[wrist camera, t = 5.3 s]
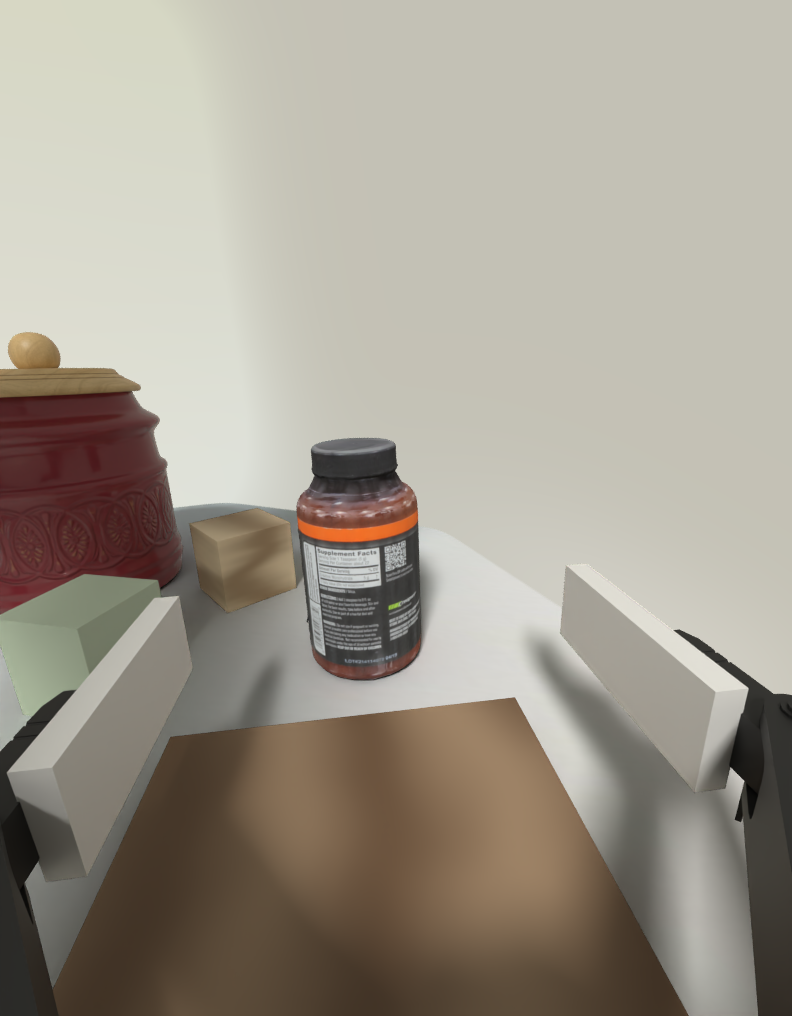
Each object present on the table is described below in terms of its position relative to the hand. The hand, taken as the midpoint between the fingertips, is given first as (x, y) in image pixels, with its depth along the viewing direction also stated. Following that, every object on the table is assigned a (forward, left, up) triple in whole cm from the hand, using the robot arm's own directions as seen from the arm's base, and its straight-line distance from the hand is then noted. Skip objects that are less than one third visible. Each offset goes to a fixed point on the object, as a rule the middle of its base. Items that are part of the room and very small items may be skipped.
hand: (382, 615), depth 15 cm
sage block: (-13, +7, -7) cm, 16 cm away
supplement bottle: (0, +8, -7) cm, 10 cm away
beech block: (-8, +17, -7) cm, 20 cm away
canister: (-20, +20, -7) cm, 29 cm away
